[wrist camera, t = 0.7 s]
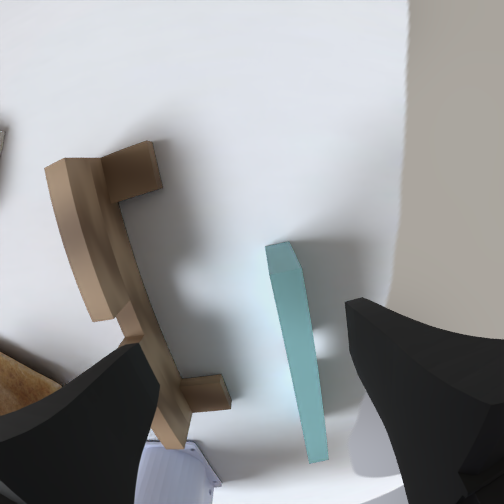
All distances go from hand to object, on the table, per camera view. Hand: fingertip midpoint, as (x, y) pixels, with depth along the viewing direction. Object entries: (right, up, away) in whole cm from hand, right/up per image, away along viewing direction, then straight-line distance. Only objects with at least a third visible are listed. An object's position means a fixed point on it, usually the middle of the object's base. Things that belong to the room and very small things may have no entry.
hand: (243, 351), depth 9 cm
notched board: (-8, 0, +10) cm, 12 cm away
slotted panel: (+4, -4, +11) cm, 12 cm away
